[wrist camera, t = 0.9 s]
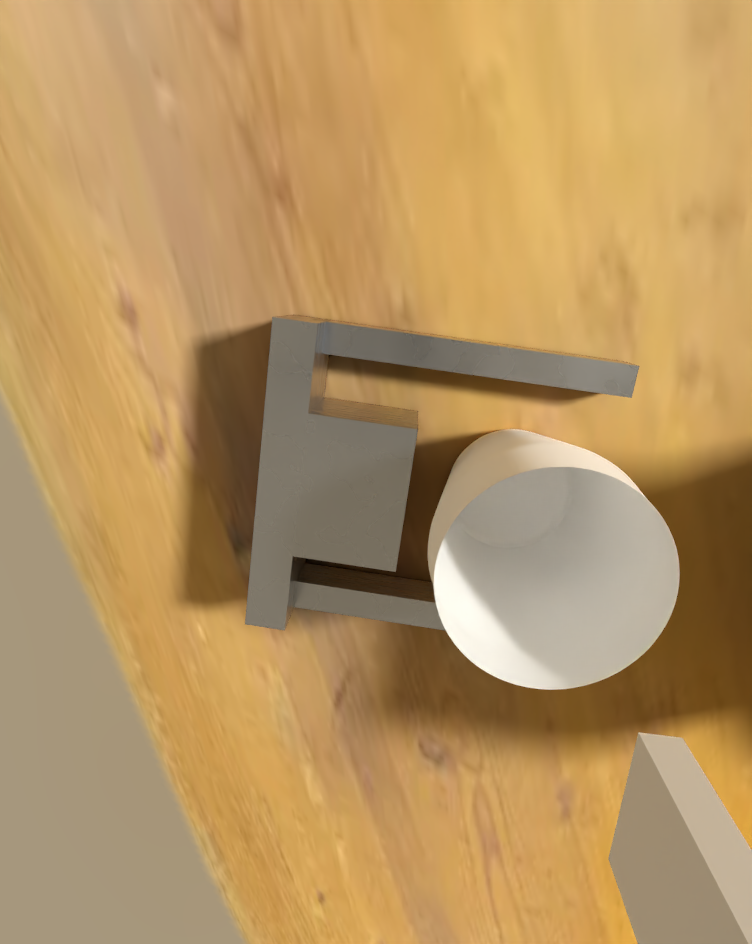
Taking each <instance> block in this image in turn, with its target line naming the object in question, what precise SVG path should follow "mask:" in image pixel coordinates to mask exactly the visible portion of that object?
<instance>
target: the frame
mask: <svg viewBox="0 0 752 944" xmlns="http://www.w3.org/2000/svg"><path fill="white" fill-rule="evenodd" d="M329 355H336V356H343V357H350V358H357V359H364V360H371V361H378V362H385V363H392V364H399V365H406V366H413V367H420V368H427V369H434V370H441V371H448V372H455V373H462V374H469V375H476V376H483V377H490V378H497V379H504V380H511V381H518V382H525V383H532V384H539V385H546V386H553V387H560V388H567V389H574V390H581V391H588V392H595V393H602V394H609V395H616V396H623V397H630V398H632V394H633V390H634V386H635V381H636V377H637V373H638V369H639V366H637V365H634V364H631V363H627V362H624V361H618V360H611V359H604V358H597V357H590V356H583V355H575V354H568V353H561V352H554V351H547V350H540V349H533V348H526V347H519V346H512V345H505V344H498V343H491V342H483V341H476V340H469V339H462V338H455V337H448V336H441V335H434V334H427V333H420V332H413V331H406V330H399V329H392V328H384V327H377V326H370V325H363V324H356V323H349V322H342V321H335V320H328V319H321V318H314V317H307V316H300V315H287V316H277V317H273V318H272V329H271V340H270V351H269V362H268V374H267V385H266V396H265V407H264V418H263V430H262V441H261V452H260V463H259V474H258V486H257V497H256V508H255V519H254V530H253V542H252V553H251V564H250V575H249V586H248V598H247V609H246V620H245V624H247V625H254V626H260V627H267V628H273V629H279V630H285V628H286V626H287V623H288V621H289V619H290V616H291V614H292V611H293V609H294V607H297V608H303V609H310V610H316V611H323V612H329V613H335V614H342V615H348V616H355V617H361V618H368V619H374V620H381V621H387V622H394V623H400V624H407V625H413V626H420V627H426V628H433V629H439V630H445V628H444V626H443V624H442V621H441V619H440V616H439V613H438V610H437V606H436V601H435V595H434V588H433V583H432V582H427V581H420V580H414V579H407V578H401V577H394V576H388V575H381V574H375V573H368V572H361V571H355V570H348V569H342V568H335V567H329V566H322V565H316V564H309V563H305V560H306V558H308V559H314V560H321V561H327V562H334V563H340V564H347V565H354V566H360V567H367V568H373V569H380V570H386V571H393V572H396V567H397V560H398V554H399V548H400V541H401V535H402V528H403V522H404V515H405V509H406V502H407V496H408V490H409V483H410V477H411V470H412V464H413V457H414V451H415V444H416V438H417V432H418V411H414V410H407V409H400V408H393V407H386V406H379V405H373V404H366V403H359V402H352V401H345V400H338V399H331V398H324V394H325V385H326V376H327V367H328V358H329ZM445 631H446V630H445Z"/></svg>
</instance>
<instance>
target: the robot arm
mask: <svg viewBox="0 0 752 944" xmlns="http://www.w3.org/2000/svg"><path fill="white" fill-rule="evenodd" d="M609 862H610V865H611V868H612V870H613V873H614V876H615V879H616V882H617V885H618V888H619V891H620V893H621V896H622V899H623V902H624V905H625V908H626V911H627V914H628V916H629V919H630V922H631V925H632V928H633V931H634V934H635V937H636V940H637V942H638V944H752V850H751V848H750V847H749V845H748V844H747V842H746V840H745V839H744V837H743V835H742V834H741V832H740V831H739V829H738V827H737V826H736V824H735V822H734V821H733V819H732V818H731V816H730V814H729V813H728V811H727V809H726V808H725V806H724V805H723V803H722V801H721V800H720V798H719V796H718V795H717V793H716V792H715V790H714V788H713V787H712V785H711V783H710V782H709V780H708V779H707V777H706V775H705V774H704V772H703V771H702V769H701V767H700V766H699V764H698V762H697V761H696V759H695V758H694V756H693V754H692V753H691V751H690V749H689V748H688V746H687V745H686V743H685V741H684V740H683V738H680V737H672V736H664V735H655V734H647V733H639V732H638V736H637V741H636V745H635V749H634V753H633V757H632V762H631V766H630V770H629V774H628V779H627V783H626V787H625V791H624V795H623V800H622V804H621V808H620V812H619V817H618V821H617V825H616V829H615V833H614V838H613V842H612V846H611V850H610V855H609Z"/></svg>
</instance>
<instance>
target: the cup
mask: <svg viewBox="0 0 752 944" xmlns="http://www.w3.org/2000/svg"><path fill="white" fill-rule="evenodd" d="M428 566H429V572H430V576H431V580H432V583H433V588H434V595H435V601H436V606H437V610H438V613H439V616H440V619H441V621H442V624H443V626H444V628H445V630H446V632H447V633H448V635H449V637H450V638H451V640H452V641H453V643H454V644H455V645H456V646H457V648H458V649H459V650H460V651H461V652H462V653H463V654H464V655H465V656H466V657H467V658H468V659H469V660H470V661H471V662H473V663H474V664H475V665H476V666H478V667H479V668H481V669H482V670H484V671H485V672H487V673H489V674H491V675H493V676H494V677H496V678H499V679H501V680H503V681H506V682H509V683H512V684H515V685H519V686H523V687H528V688H535V689H547V690H556V689H569V688H576V687H580V686H585V685H589V684H592V683H595V682H598V681H601V680H603V679H606V678H608V677H610V676H612V675H614V674H616V673H618V672H620V671H621V670H623V669H625V668H626V667H628V666H629V665H630V664H632V663H633V662H634V661H636V660H637V659H638V658H639V657H640V656H642V655H643V654H644V653H645V652H646V651H647V650H648V649H649V648H650V647H651V646H652V644H653V643H654V642H655V641H656V639H657V638H658V637H659V636H660V634H661V633H662V631H663V629H664V628H665V626H666V624H667V622H668V620H669V618H670V616H671V614H672V611H673V609H674V606H675V603H676V599H677V595H678V589H679V580H680V568H679V558H678V553H677V548H676V545H675V542H674V539H673V536H672V534H671V532H670V529H669V527H668V526H667V524H666V522H665V520H664V519H663V517H662V516H661V515H660V513H659V512H658V511H657V509H656V508H655V507H654V506H653V505H652V504H651V502H650V501H649V500H648V499H647V498H646V497H645V496H644V494H643V493H642V492H641V491H640V490H639V488H638V487H637V486H636V484H635V483H634V482H633V481H632V480H631V479H630V478H629V477H628V476H627V475H626V474H625V473H624V472H623V471H622V470H621V469H620V468H618V467H617V466H616V465H614V464H613V463H611V462H610V461H608V460H606V459H605V458H603V457H601V456H599V455H597V454H595V453H593V452H591V451H589V450H586V449H583V448H580V447H577V446H574V445H571V444H568V443H565V442H562V441H559V440H555V439H552V438H549V437H546V436H543V435H539V434H536V433H533V432H530V431H525V430H519V429H505V430H499V431H495V432H491V433H489V434H486V435H484V436H482V437H480V438H478V439H477V440H475V441H474V442H472V443H471V444H470V445H469V446H468V447H466V448H465V449H464V451H463V452H462V453H461V454H460V455H459V457H458V458H457V460H456V461H455V463H454V465H453V467H452V470H451V472H450V475H449V478H448V480H447V483H446V485H445V488H444V491H443V493H442V496H441V498H440V501H439V504H438V506H437V509H436V512H435V515H434V517H433V520H432V524H431V528H430V533H429V540H428Z"/></svg>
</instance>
